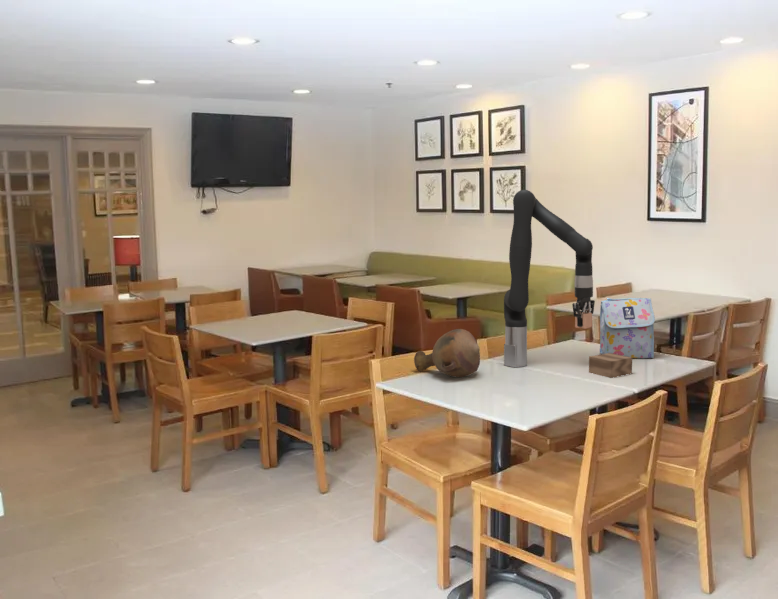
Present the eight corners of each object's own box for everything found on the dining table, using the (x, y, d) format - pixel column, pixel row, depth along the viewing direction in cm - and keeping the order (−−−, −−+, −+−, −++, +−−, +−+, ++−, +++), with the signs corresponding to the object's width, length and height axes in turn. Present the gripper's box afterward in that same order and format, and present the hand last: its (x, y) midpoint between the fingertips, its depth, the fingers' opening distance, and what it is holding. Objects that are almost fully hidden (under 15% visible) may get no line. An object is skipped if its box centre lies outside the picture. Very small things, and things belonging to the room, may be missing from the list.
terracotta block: (585, 328, 324) (585, 314, 323) (575, 327, 328) (575, 313, 327) (591, 326, 328) (592, 312, 327) (581, 325, 331) (581, 311, 330)
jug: (492, 376, 315) (434, 379, 335) (490, 328, 318) (433, 333, 338) (462, 375, 300) (404, 378, 320) (461, 325, 303) (403, 331, 322)
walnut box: (611, 378, 308) (611, 361, 307) (588, 373, 318) (589, 356, 317) (631, 374, 314) (632, 357, 314) (609, 369, 325) (609, 352, 324)
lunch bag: (603, 360, 340) (604, 301, 336) (596, 352, 357) (597, 296, 353) (656, 360, 338) (657, 300, 335) (646, 352, 355) (647, 295, 351)
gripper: (582, 288, 318) (582, 329, 320) (600, 284, 327) (600, 324, 330) (566, 287, 323) (566, 327, 325) (585, 283, 333) (585, 322, 335)
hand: (583, 325), depth 328 cm, fingers closed on terracotta block, 5 cm apart
